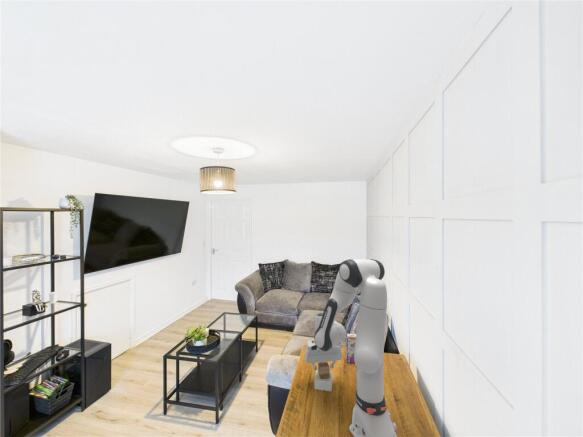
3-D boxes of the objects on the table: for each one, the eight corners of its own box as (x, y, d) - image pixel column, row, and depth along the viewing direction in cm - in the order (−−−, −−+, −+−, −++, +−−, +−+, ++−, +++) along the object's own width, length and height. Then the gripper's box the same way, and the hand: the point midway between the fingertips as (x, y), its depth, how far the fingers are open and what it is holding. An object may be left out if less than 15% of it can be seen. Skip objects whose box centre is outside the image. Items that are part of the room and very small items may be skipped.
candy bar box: (347, 363, 152) (346, 336, 153) (346, 358, 157) (345, 333, 158) (365, 364, 151) (365, 337, 152) (363, 359, 156) (363, 333, 157)
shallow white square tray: (331, 392, 127) (331, 382, 127) (314, 389, 129) (314, 379, 129) (332, 380, 136) (332, 371, 136) (316, 378, 138) (316, 369, 138)
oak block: (329, 378, 130) (329, 366, 131) (320, 379, 130) (320, 367, 130) (327, 372, 135) (326, 361, 135) (318, 373, 135) (318, 362, 135)
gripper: (339, 338, 138) (339, 363, 137) (303, 341, 135) (304, 367, 134) (343, 344, 131) (344, 370, 131) (306, 347, 128) (306, 374, 128)
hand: (323, 368), depth 133 cm, fingers open, 8 cm apart
